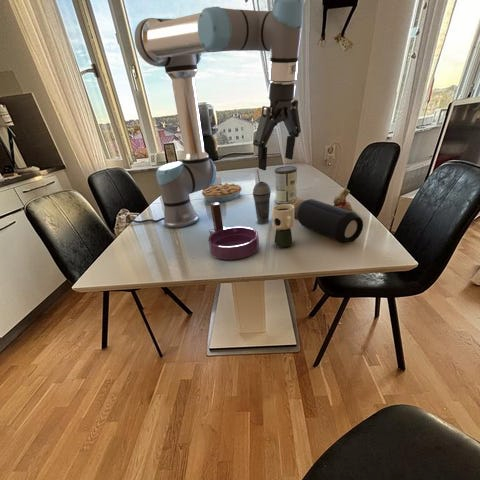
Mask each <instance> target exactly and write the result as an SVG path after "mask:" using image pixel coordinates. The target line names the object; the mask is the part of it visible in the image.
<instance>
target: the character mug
mask: <svg viewBox="0 0 480 480" xmlns="http://www.w3.org/2000/svg"><path fill="white" fill-rule="evenodd" d="M271 211H272V212H271V213H272V214H271V215H272V227H273V229H275V233H274V234H275V235H274V243H275V247H277V248H287V247H289V246H291V245H293V236H292V228H294V224H295V218H294V206H293V205H291V203H279V204H276V205H274V206H272V209H271Z"/></svg>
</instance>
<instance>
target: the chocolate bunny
mask: <svg viewBox="0 0 480 480" xmlns="http://www.w3.org/2000/svg"><path fill="white" fill-rule="evenodd" d="M350 193H351V191H350V190H349V189H348V187H343V188H342V190H340V192H339V193H338V194H337V195H334V197H333V202H332V203H333V206H336V207H339V208H342V209H345V210H348V211H351V212H353V207H352V204H351V202H349V201H347V196H348V195H350Z"/></svg>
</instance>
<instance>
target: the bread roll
mask: <svg viewBox="0 0 480 480" xmlns="http://www.w3.org/2000/svg"><path fill="white" fill-rule="evenodd" d="M305 200H306V199H303V198H296V200H295V201H293V202H291V203H290V204H291V205H293V206H294V219H297V217H296V211H297V208H298V206H299V204H300V203H301V202H303V201H305Z"/></svg>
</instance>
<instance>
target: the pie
mask: <svg viewBox="0 0 480 480" xmlns="http://www.w3.org/2000/svg"><path fill="white" fill-rule="evenodd" d="M242 190H243V188H242V187H241V185H240V184H235V183H227V182H226V183H224V184H223V183H222V184H221V183H219V184H217V185H212V186H211V187H209V188H207V189H205V190H201V195H202V196H203V197H204V198H205V200H206V201H207V202H210V203H216V202H217V203H223V202H228V201H232V200H235V199H237V198H239V197H240V193H241V192H242Z"/></svg>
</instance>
